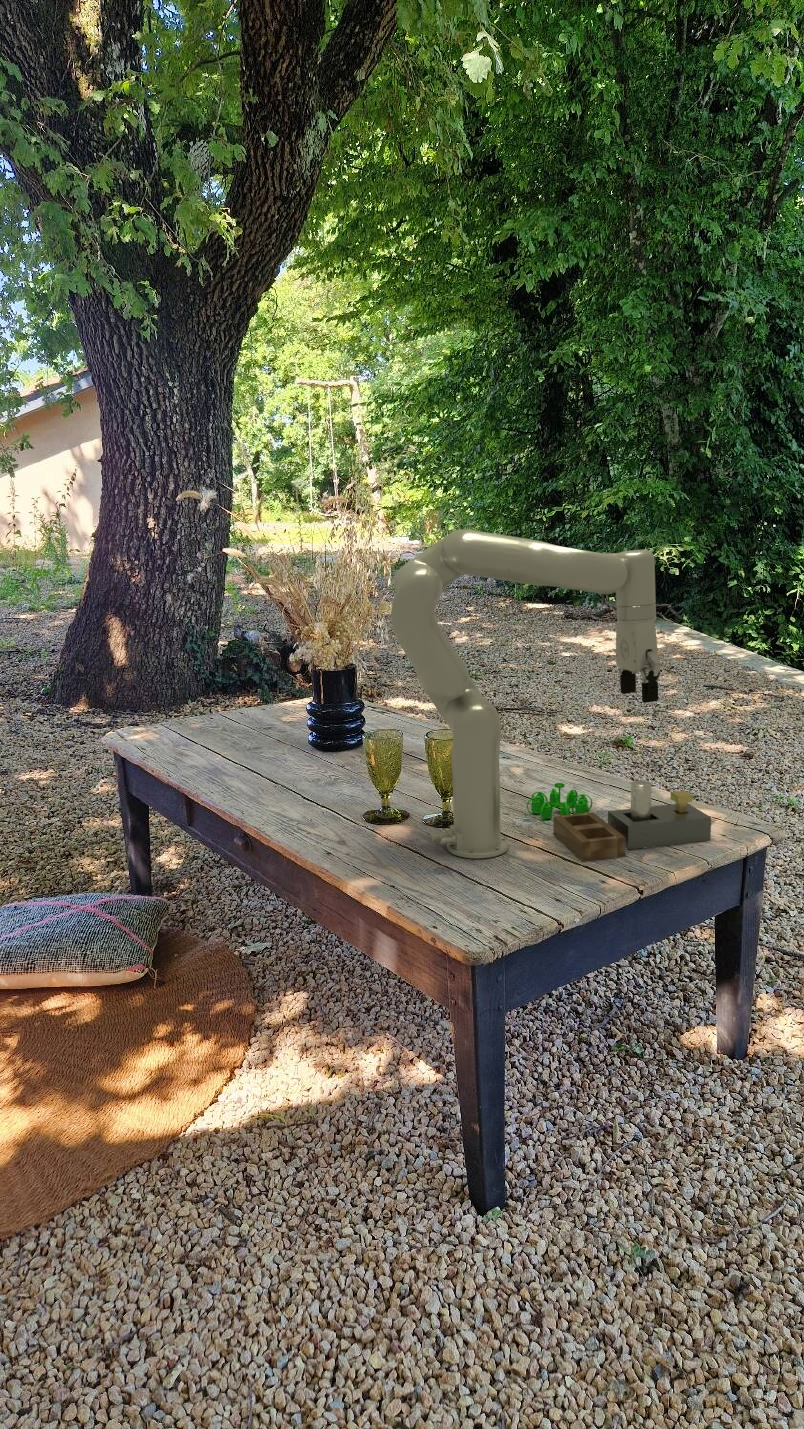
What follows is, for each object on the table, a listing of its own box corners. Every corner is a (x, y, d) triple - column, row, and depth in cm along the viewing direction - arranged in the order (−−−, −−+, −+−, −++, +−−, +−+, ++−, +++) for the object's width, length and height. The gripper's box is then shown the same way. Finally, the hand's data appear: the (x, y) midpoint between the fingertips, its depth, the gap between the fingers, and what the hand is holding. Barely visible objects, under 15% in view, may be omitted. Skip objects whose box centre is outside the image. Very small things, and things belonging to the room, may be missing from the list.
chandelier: (601, 822, 199) (601, 792, 198) (533, 826, 198) (533, 796, 197) (583, 801, 214) (583, 773, 212) (520, 805, 213) (520, 777, 211)
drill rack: (582, 861, 177) (582, 842, 176) (553, 834, 192) (553, 816, 191) (625, 856, 178) (625, 837, 178) (593, 829, 194) (593, 812, 193)
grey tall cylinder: (635, 843, 185) (636, 787, 183) (627, 836, 189) (627, 781, 186) (653, 841, 186) (654, 785, 183) (644, 834, 190) (645, 780, 187)
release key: (677, 826, 187) (678, 796, 185) (670, 821, 190) (670, 791, 188) (691, 824, 187) (692, 794, 186) (684, 819, 190) (684, 790, 189)
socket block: (628, 850, 182) (628, 826, 181) (607, 833, 191) (607, 811, 190) (710, 840, 185) (711, 817, 184) (686, 824, 195) (686, 802, 193)
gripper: (600, 611, 187) (604, 692, 191) (638, 619, 171) (641, 707, 175) (634, 607, 189) (637, 687, 192) (675, 615, 172) (677, 702, 176)
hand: (639, 697), depth 184 cm, fingers open, 9 cm apart
